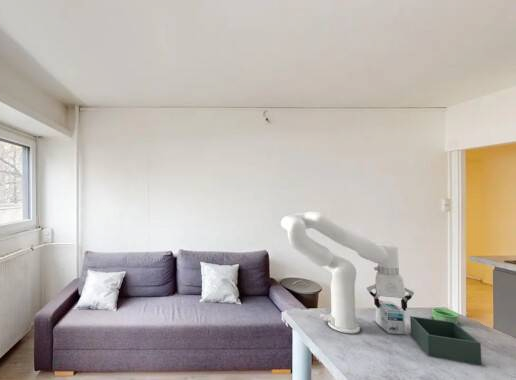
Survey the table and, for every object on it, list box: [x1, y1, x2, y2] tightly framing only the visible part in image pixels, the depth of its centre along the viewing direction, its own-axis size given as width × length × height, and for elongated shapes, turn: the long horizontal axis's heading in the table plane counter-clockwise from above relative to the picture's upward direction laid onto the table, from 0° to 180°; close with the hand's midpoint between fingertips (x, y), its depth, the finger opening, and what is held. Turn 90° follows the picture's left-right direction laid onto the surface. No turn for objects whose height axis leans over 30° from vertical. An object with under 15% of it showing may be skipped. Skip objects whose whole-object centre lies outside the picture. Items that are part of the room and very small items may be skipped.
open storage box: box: [409, 315, 482, 366], centre depth 105 cm, size 15×17×8 cm
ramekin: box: [431, 307, 460, 324], centre depth 125 cm, size 9×9×4 cm
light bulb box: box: [374, 299, 406, 335], centre depth 120 cm, size 11×7×11 cm, turn 168°
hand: (390, 308), depth 120 cm, fingers open, 9 cm apart
